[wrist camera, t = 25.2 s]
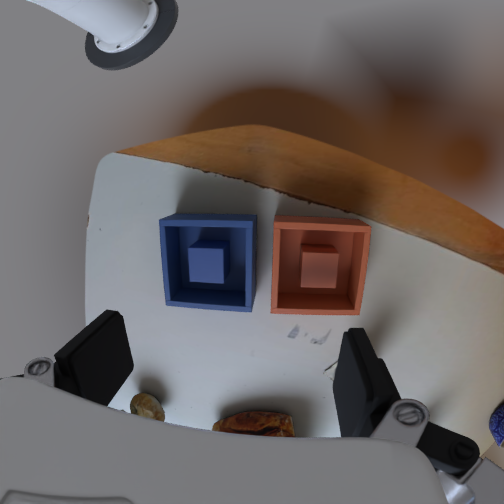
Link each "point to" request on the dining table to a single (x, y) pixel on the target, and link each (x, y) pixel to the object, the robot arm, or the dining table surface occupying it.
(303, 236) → the terracotta bin
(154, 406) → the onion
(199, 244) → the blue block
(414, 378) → the dining table surface
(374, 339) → the dining table surface
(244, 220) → the blue bin
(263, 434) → the bread
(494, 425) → the planter
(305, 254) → the terracotta block
